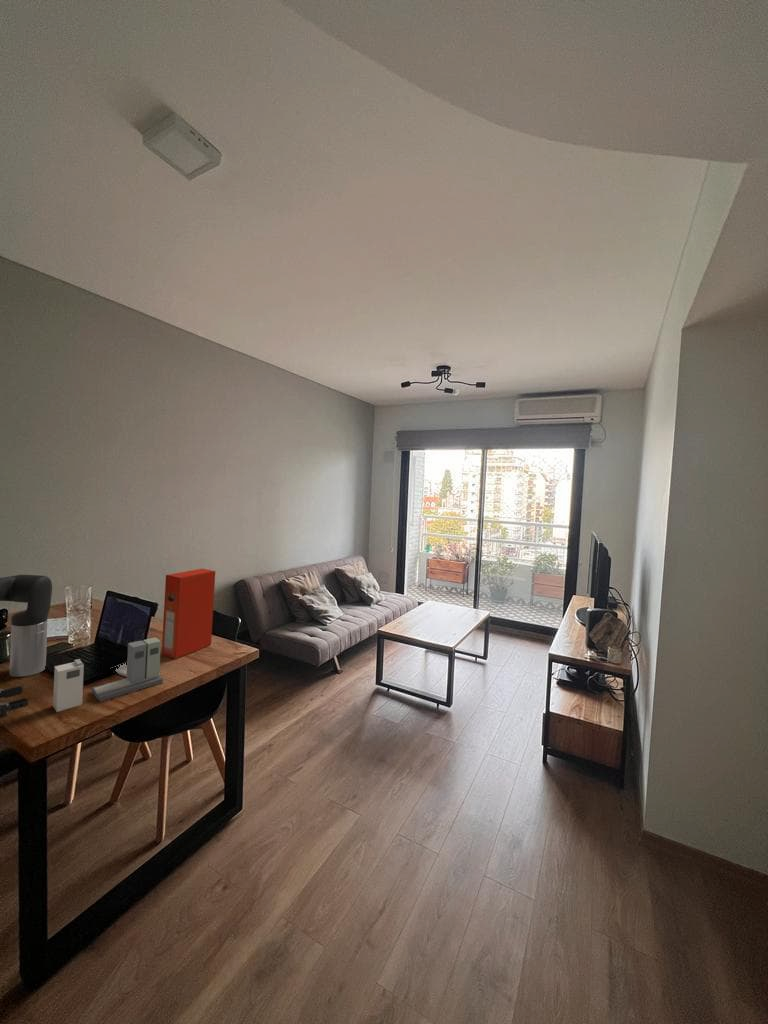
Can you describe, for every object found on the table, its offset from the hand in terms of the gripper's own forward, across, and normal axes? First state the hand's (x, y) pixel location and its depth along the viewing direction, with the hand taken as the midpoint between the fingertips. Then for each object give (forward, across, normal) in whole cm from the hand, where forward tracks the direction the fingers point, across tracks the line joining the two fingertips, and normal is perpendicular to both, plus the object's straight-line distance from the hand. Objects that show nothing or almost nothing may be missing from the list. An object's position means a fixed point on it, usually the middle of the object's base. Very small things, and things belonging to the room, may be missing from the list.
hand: (24, 695), depth 110 cm
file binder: (+53, +18, +7) cm, 56 cm away
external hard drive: (+31, +12, +7) cm, 34 cm away
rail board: (+26, 0, +6) cm, 27 cm away
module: (+10, 0, +6) cm, 12 cm away
